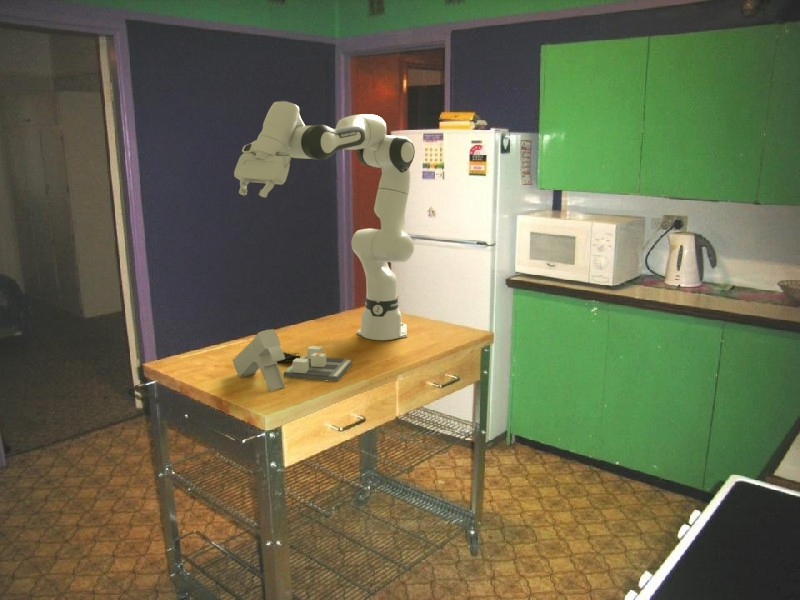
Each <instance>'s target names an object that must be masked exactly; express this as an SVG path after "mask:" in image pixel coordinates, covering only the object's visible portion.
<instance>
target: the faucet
mask: <svg viewBox="0 0 800 600" xmlns="http://www.w3.org/2000/svg"><path fill="white" fill-rule="evenodd" d="M283 352H284V350H282V347H281V342H280V338H279V336H278V334H277V332H276V330H275V329H274V328H272V329H271V328H270V329H265V330H262V331H259V332H258V333H257V334H256V335H255V336H254V338H253V340H251V341H250V342H249V344H247V346H246V347H244V348H243V349H242V350H241V351H240V352H239V353H238V354H237V355H236V356H235V357H234V358H233V359H232V364H233V366H234V369H235V371H236V373H237V375H238V377H239V378H240V377H247V376H250V375H253V374H255V373H257V372H258V370H259V369H260V372H261V374H262V376H263V378H264V381H265V384H266V386H267V389H268V391H270V392H274V391H276V390H277V391H278V390H280V388H281V389H283V388H284V389H285V387H286V384H285V382H284V377H283V376H282V372H281V369H280V367H279V363H278V362H277V361H280V360H284V359H285V356H284V353H285V352H284V353H283ZM273 390H274V391H273Z"/></svg>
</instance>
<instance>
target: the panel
mask: <svg viewBox="0 0 800 600" xmlns="http://www.w3.org/2000/svg"><path fill="white" fill-rule="evenodd" d="M299 359H307V356H306V355H305V356H304V355H300V358H299ZM352 365H353V359H345V358H341V357H340V358H338V357H327V356H326V365H325V366H324V367H313V366H311V359H309V370H308V371H307V372H306V373H294V372H293V363H292V364H291V365H290V366H289V367H288V368H286V369H285V371H283V378H291V379H302V378H305V380H314V379H316V380H315V381H325V380H328V381H327V382H336V381H337V382H339V380H341V379H342V377H343V376H344V374H345V373H346V372H347V371H348V370H349V367H350V368H351V366H352ZM342 375H343V376H342Z"/></svg>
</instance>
